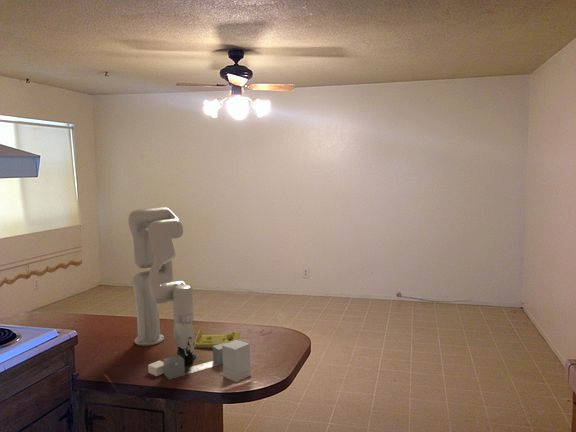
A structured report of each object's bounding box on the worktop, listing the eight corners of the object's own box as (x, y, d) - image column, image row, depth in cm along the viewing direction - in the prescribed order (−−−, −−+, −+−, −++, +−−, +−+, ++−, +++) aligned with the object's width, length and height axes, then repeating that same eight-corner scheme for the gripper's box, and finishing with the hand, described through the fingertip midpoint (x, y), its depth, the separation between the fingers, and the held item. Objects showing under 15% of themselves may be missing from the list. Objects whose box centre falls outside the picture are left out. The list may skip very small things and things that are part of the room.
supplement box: (251, 376, 173) (250, 343, 172) (236, 384, 167) (235, 349, 166) (237, 371, 178) (236, 339, 176) (222, 378, 172) (221, 344, 171)
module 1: (164, 374, 175) (163, 358, 174) (179, 370, 178) (178, 354, 178) (169, 379, 171) (168, 363, 170) (184, 374, 174) (184, 359, 173)
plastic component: (192, 344, 200) (200, 327, 208) (197, 356, 204) (204, 339, 212) (236, 344, 195) (242, 326, 203) (240, 356, 199) (246, 338, 207)
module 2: (213, 360, 186) (212, 345, 186) (226, 356, 190) (226, 342, 189) (219, 364, 182) (218, 349, 181) (232, 360, 185) (232, 346, 185)
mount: (190, 356, 192) (190, 344, 191) (199, 358, 190) (198, 346, 189) (171, 366, 182) (170, 354, 182) (179, 369, 180) (179, 356, 180)
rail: (164, 376, 175) (164, 374, 175) (226, 358, 190) (226, 356, 190) (169, 381, 171) (169, 379, 171) (232, 362, 186) (232, 360, 186)
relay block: (148, 375, 177) (148, 364, 176) (159, 370, 181) (159, 360, 180) (156, 378, 174) (156, 368, 173) (167, 373, 177) (167, 363, 177)
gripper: (166, 313, 189) (168, 356, 191) (183, 325, 175) (185, 371, 177) (183, 309, 193) (185, 351, 195) (202, 321, 179) (203, 366, 181)
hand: (185, 360), depth 186 cm, fingers closed on mount, 5 cm apart
